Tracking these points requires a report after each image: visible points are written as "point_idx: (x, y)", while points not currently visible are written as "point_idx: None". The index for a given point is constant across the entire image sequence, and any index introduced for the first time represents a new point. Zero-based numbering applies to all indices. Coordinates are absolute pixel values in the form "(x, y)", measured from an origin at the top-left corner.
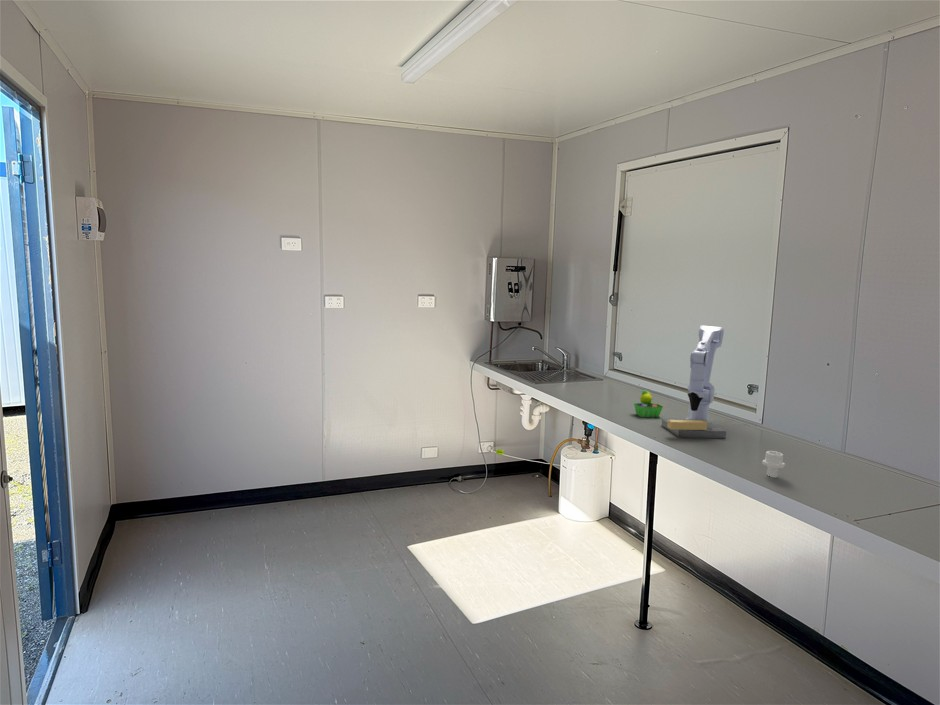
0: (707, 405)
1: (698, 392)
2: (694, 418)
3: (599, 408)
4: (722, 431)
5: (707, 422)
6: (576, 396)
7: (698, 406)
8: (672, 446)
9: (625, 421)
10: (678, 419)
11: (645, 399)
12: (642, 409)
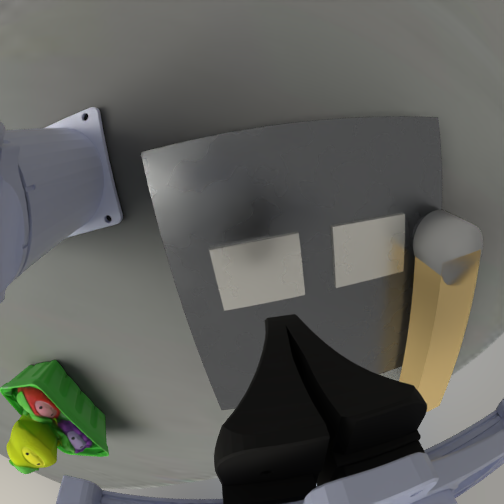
0: (16, 153)
1: (495, 467)
2: (82, 224)
3: (78, 465)
4: (439, 141)
5: (477, 259)
6: (8, 456)
7: (313, 333)
8: (474, 352)
9: (204, 458)
10: (204, 347)
11: (55, 454)
12: (105, 443)
